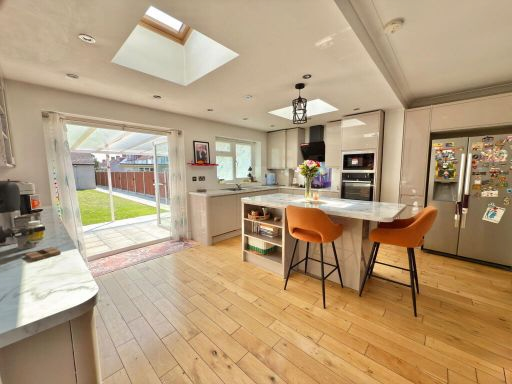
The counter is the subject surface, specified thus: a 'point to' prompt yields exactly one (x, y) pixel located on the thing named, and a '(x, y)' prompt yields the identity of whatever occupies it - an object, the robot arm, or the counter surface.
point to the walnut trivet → (38, 254)
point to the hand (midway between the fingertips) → (42, 227)
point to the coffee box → (23, 221)
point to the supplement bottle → (37, 235)
